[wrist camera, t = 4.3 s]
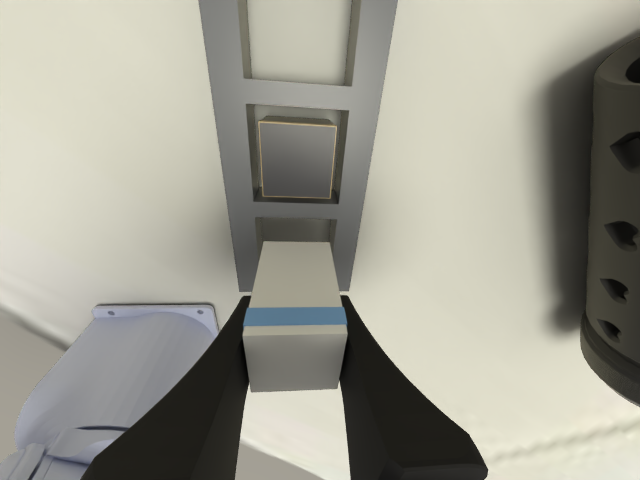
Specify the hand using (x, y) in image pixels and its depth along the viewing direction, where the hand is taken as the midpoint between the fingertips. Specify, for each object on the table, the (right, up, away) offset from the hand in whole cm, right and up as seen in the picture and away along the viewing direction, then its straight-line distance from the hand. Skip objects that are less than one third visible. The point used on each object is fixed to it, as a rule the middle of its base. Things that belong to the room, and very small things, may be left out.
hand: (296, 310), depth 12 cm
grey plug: (0, +2, +2) cm, 3 cm away
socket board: (0, +9, +3) cm, 10 cm away
